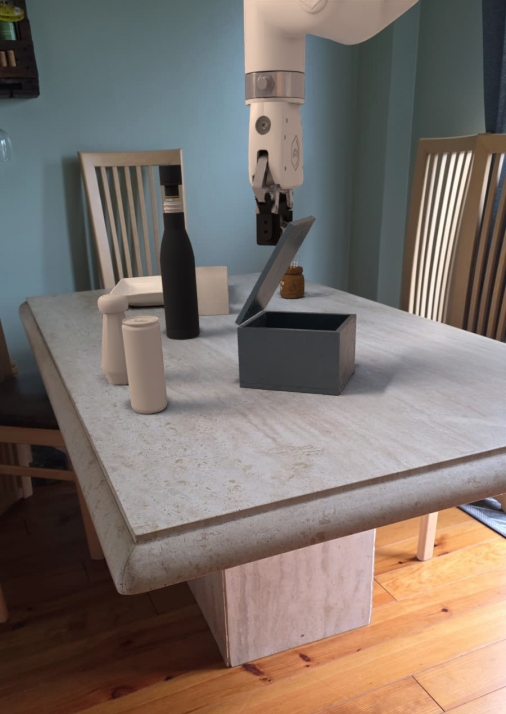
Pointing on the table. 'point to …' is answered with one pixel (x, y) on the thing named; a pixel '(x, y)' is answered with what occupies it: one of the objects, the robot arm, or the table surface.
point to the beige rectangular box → (212, 290)
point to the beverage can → (145, 363)
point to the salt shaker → (113, 337)
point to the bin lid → (276, 266)
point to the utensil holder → (292, 283)
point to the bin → (297, 351)
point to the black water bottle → (177, 263)
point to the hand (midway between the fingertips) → (275, 241)
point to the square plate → (141, 290)
